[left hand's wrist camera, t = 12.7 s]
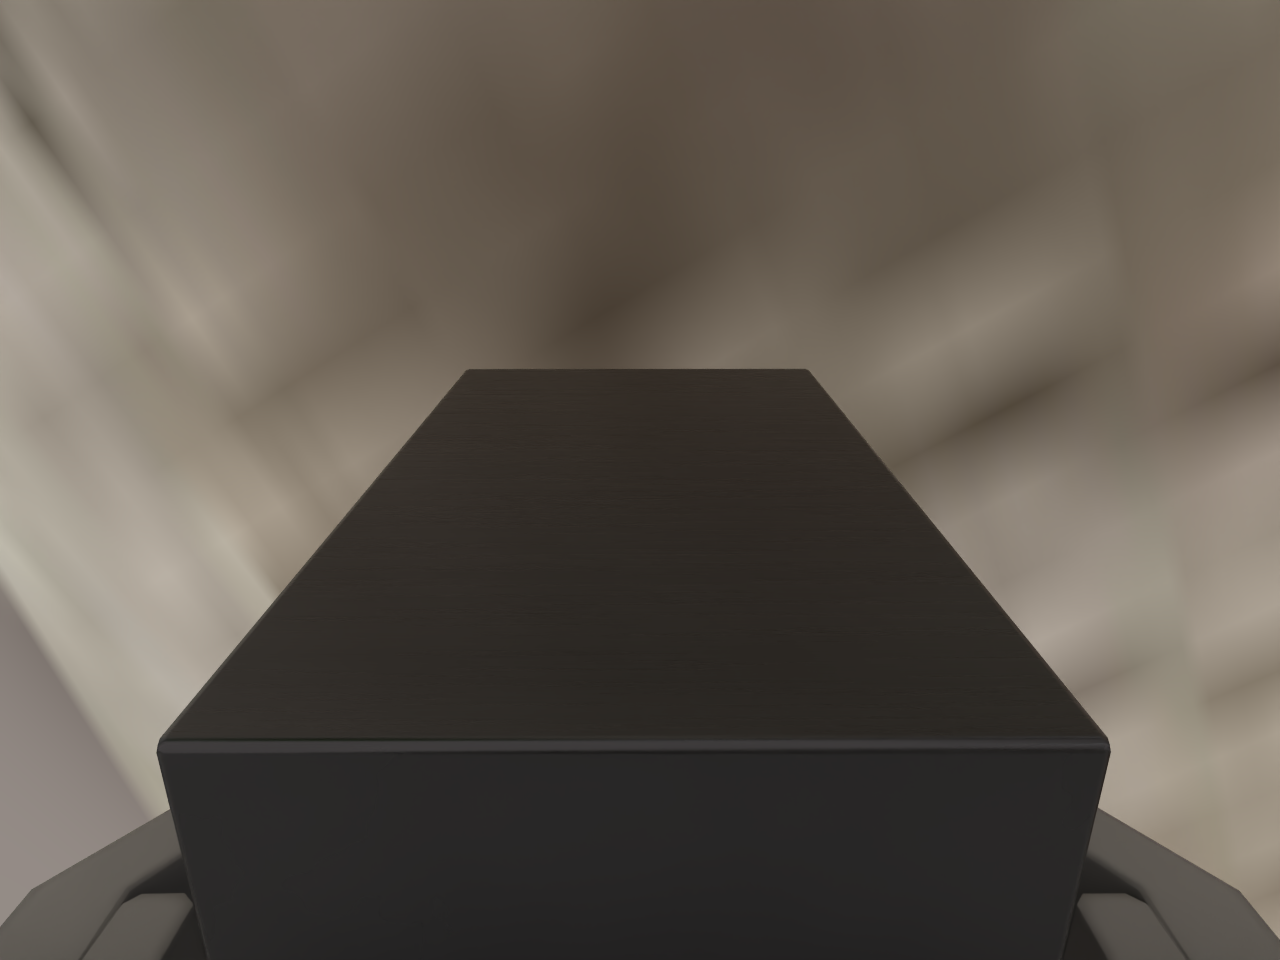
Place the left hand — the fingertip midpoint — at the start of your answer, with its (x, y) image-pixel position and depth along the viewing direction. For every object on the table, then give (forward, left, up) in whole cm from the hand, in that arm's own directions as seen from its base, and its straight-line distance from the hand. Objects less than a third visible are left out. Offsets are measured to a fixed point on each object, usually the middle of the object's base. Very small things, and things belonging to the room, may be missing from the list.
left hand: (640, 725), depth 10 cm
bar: (+7, +5, -3) cm, 9 cm away
